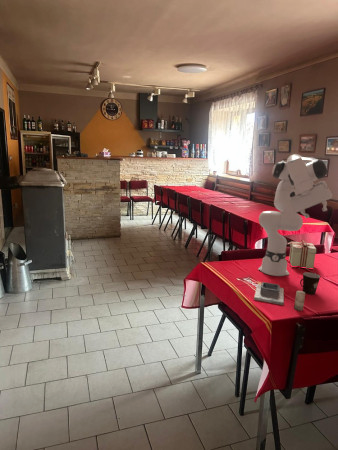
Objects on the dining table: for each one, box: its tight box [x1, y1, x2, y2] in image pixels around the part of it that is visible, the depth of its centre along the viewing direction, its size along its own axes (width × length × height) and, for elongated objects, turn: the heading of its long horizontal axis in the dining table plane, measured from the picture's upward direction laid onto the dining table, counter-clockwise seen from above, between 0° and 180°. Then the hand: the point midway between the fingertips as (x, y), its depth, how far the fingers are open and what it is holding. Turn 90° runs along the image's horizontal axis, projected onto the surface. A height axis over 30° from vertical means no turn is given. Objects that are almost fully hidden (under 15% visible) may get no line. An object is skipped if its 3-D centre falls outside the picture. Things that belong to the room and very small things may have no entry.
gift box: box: [286, 239, 317, 269], centre depth 228 cm, size 17×18×17 cm
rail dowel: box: [293, 290, 306, 312], centre depth 160 cm, size 4×4×8 cm
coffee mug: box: [299, 272, 321, 296], centre depth 182 cm, size 12×9×10 cm
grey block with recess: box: [253, 281, 285, 306], centre depth 175 cm, size 20×14×5 cm
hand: (316, 214), depth 163 cm, fingers open, 8 cm apart
